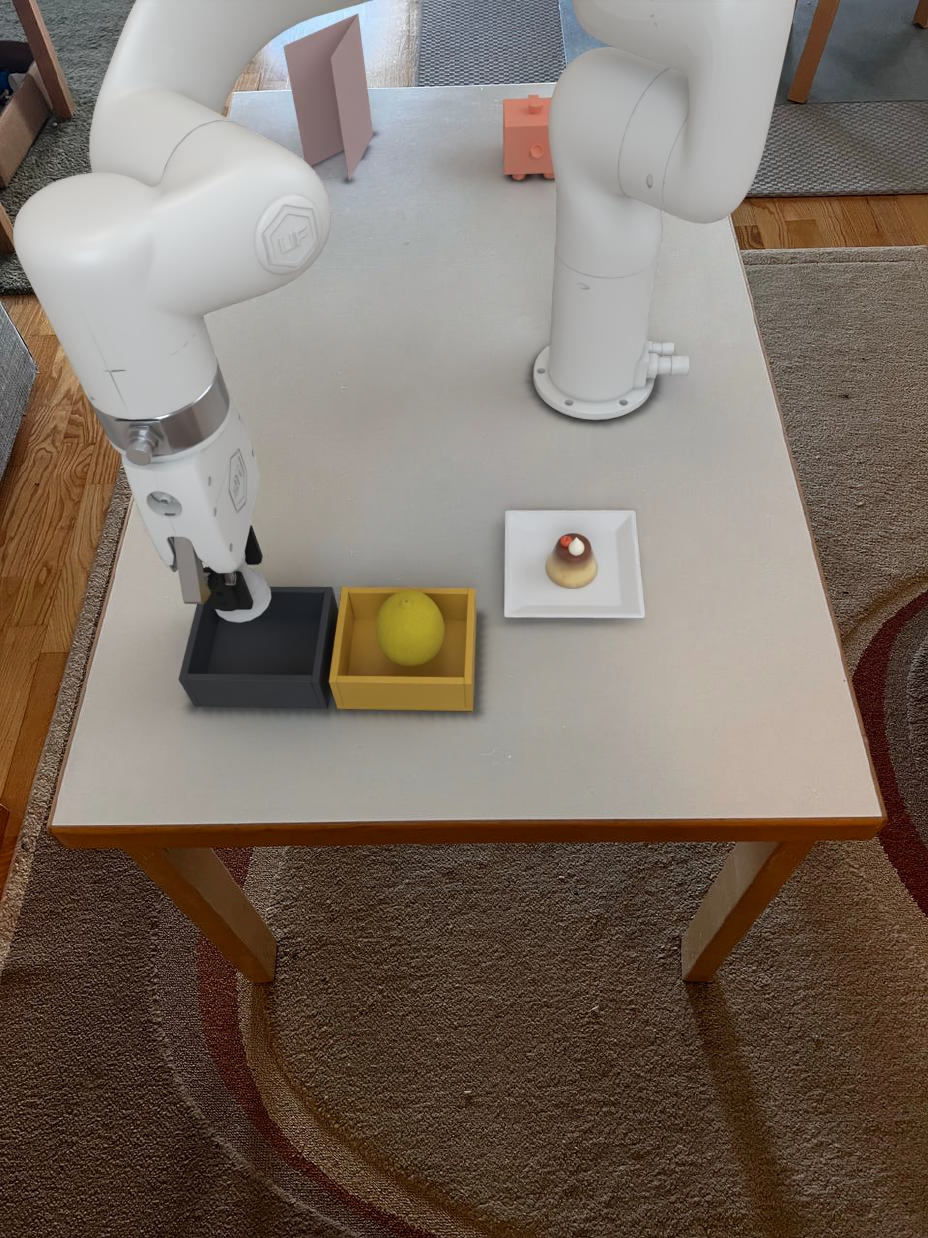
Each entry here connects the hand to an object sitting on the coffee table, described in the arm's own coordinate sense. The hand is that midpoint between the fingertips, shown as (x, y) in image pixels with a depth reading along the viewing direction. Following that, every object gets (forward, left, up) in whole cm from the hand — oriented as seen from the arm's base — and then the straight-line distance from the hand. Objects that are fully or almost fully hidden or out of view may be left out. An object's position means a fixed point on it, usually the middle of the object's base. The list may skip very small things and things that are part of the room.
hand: (237, 582), depth 68 cm
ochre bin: (-12, 0, -11) cm, 17 cm away
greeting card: (+1, -78, -12) cm, 79 cm away
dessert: (-26, -10, -12) cm, 30 cm away
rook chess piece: (0, 0, -3) cm, 3 cm away
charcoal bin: (0, 0, -11) cm, 11 cm away
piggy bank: (-23, -75, -12) cm, 79 cm away
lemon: (-13, 0, -11) cm, 17 cm away
